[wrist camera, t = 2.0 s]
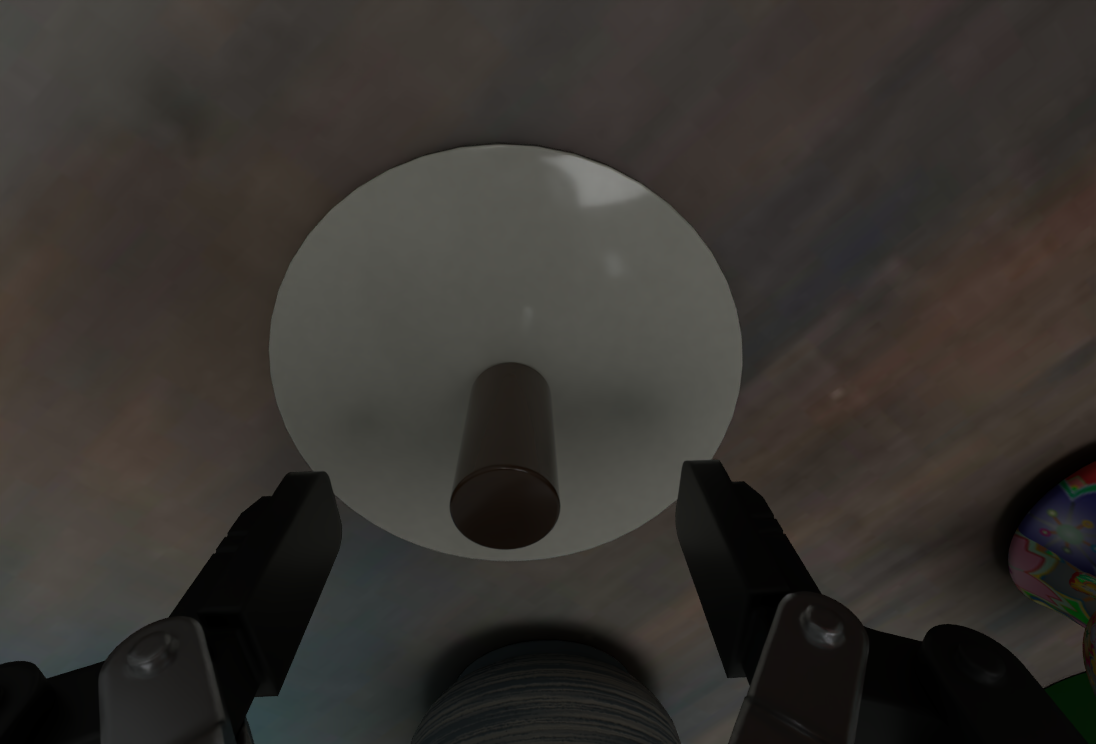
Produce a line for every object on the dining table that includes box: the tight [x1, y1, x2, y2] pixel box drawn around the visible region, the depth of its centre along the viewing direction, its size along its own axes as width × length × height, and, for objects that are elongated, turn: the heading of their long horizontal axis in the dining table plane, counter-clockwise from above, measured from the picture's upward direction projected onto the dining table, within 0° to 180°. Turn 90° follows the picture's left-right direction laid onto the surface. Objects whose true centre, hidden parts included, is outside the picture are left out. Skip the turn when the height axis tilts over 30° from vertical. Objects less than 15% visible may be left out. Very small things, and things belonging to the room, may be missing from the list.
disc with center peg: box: [269, 143, 743, 561], centre depth 14 cm, size 14×14×6 cm
